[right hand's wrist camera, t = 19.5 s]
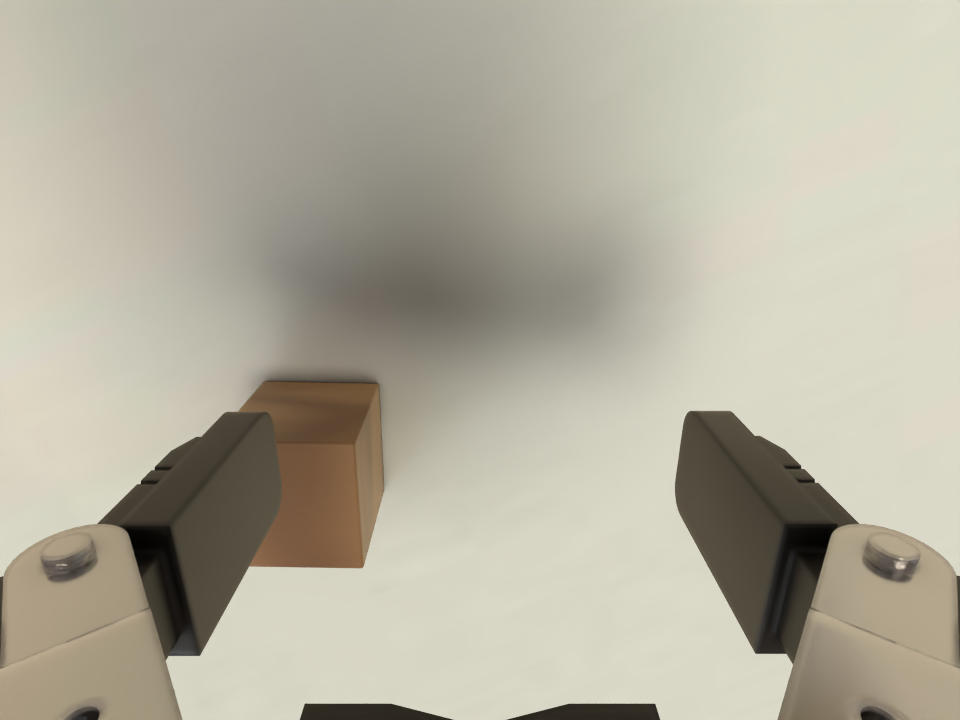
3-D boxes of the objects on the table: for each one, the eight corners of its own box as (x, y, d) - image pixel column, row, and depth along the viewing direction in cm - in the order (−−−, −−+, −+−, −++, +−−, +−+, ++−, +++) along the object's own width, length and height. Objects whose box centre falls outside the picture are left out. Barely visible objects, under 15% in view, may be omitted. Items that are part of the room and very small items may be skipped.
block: (277, 488, 23) (232, 567, 19) (263, 380, 21) (210, 440, 17) (384, 490, 23) (363, 569, 19) (379, 382, 21) (354, 443, 17)
